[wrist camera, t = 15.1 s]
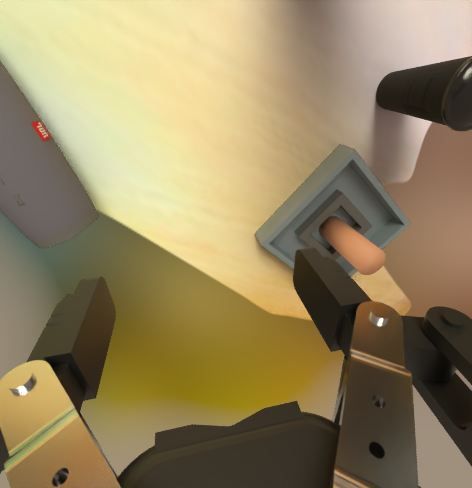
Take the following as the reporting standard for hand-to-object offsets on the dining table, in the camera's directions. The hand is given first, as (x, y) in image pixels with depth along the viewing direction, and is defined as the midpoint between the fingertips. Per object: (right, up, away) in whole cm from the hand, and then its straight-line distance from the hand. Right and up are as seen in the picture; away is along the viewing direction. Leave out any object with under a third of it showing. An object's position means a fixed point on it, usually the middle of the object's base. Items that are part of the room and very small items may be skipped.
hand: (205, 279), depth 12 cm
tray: (+18, +5, +39) cm, 43 cm away
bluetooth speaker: (-25, +15, +23) cm, 37 cm away
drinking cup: (+24, +25, +29) cm, 45 cm away
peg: (+18, +5, +38) cm, 42 cm away
